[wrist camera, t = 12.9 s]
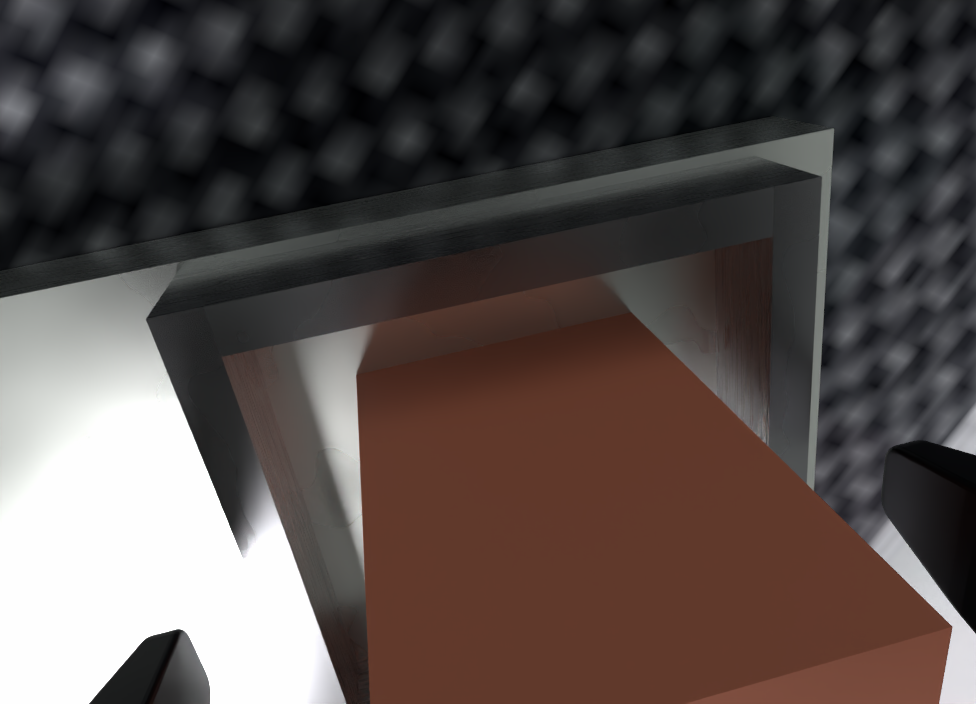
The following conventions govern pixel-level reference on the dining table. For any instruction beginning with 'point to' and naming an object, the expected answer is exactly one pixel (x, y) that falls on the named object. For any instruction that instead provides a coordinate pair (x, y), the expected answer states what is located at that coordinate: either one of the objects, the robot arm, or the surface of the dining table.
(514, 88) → the dining table surface
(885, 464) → the robot arm
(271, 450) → the panel
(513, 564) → the orange-red rectangular block
